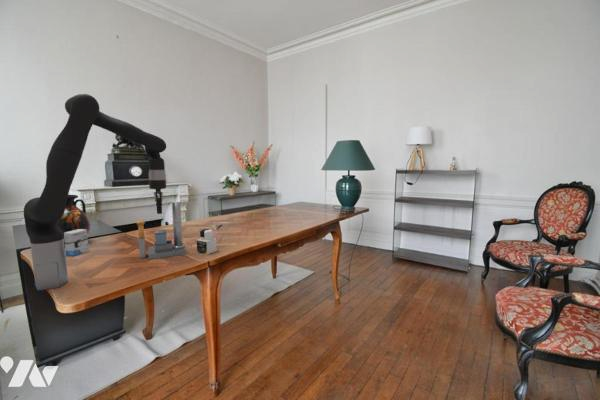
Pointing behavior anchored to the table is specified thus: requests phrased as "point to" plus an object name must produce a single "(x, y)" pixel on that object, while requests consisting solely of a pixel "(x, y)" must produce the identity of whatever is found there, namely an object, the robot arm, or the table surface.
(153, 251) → the grey base with post
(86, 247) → the ink box
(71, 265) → the table surface
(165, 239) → the blue-grey rectangular block
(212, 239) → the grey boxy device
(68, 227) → the amphora vase
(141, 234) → the wedge pin
